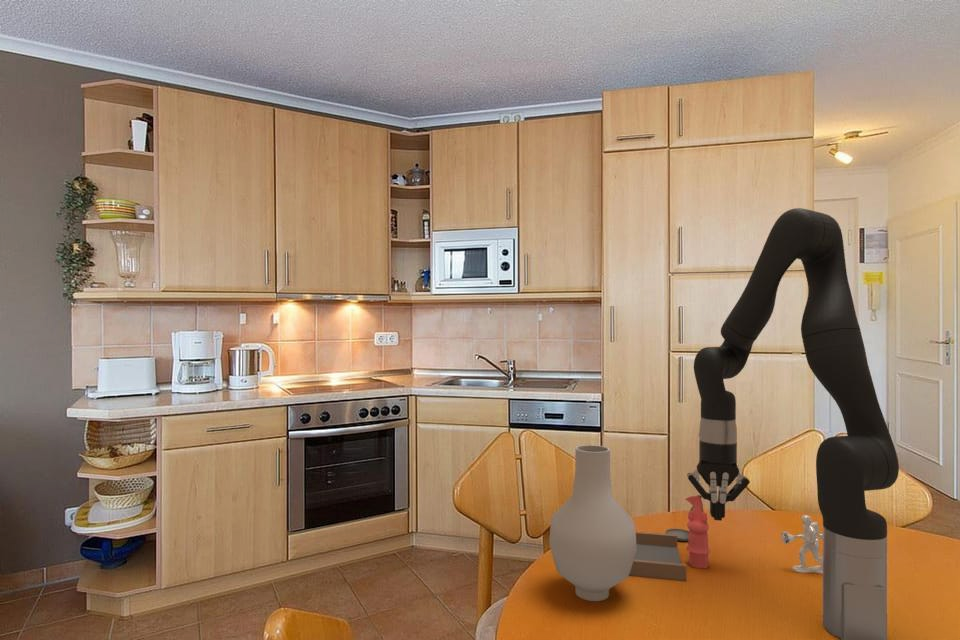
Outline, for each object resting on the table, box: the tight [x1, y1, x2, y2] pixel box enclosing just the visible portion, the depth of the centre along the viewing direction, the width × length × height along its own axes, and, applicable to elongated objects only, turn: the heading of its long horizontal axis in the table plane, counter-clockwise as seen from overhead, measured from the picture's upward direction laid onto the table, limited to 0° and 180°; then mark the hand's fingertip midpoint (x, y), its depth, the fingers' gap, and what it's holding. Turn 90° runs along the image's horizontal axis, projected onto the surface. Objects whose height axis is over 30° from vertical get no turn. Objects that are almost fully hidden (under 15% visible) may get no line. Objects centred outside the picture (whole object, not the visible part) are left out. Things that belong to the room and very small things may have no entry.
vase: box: [548, 444, 637, 602], centre depth 113 cm, size 17×16×28 cm
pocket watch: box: [664, 505, 694, 542], centre depth 142 cm, size 8×8×10 cm
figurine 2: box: [684, 494, 711, 569], centre depth 127 cm, size 5×5×15 cm
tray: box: [629, 531, 687, 582], centre depth 129 cm, size 18×18×3 cm
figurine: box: [780, 514, 823, 575], centre depth 124 cm, size 5×9×12 cm, turn 99°
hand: (717, 519), depth 126 cm, fingers closed
